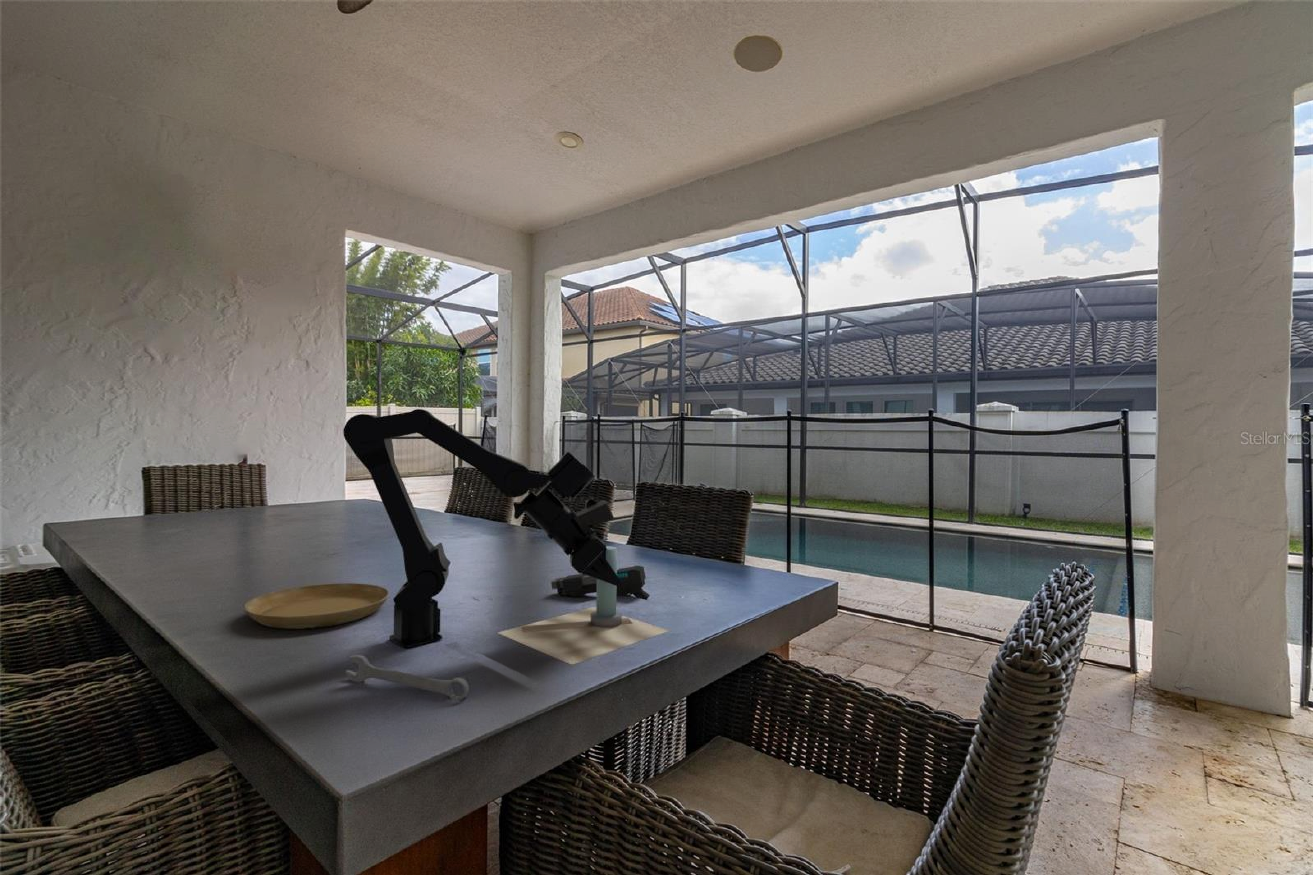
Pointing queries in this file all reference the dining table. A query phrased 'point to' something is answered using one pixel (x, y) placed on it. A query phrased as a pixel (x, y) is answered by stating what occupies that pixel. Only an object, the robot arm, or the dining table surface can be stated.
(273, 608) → the plant saucer
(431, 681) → the combination wrench
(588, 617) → the board
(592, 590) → the gun
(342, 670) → the dining table surface
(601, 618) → the marker post
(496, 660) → the dining table surface
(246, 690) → the dining table surface
